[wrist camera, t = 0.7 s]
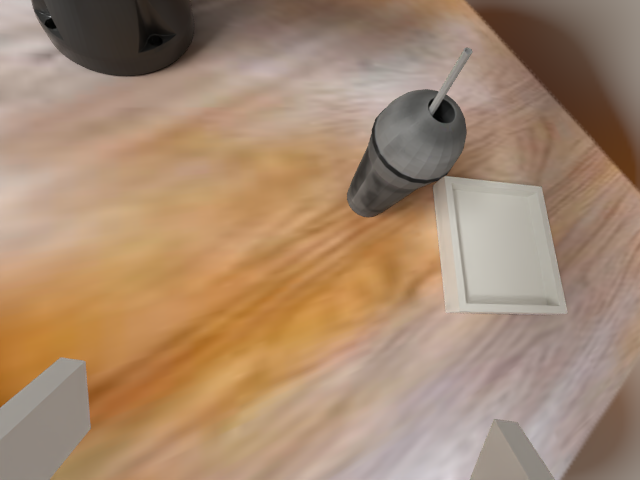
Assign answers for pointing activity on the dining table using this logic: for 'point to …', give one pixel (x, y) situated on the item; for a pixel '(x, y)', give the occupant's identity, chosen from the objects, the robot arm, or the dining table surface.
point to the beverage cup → (409, 147)
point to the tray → (496, 248)
